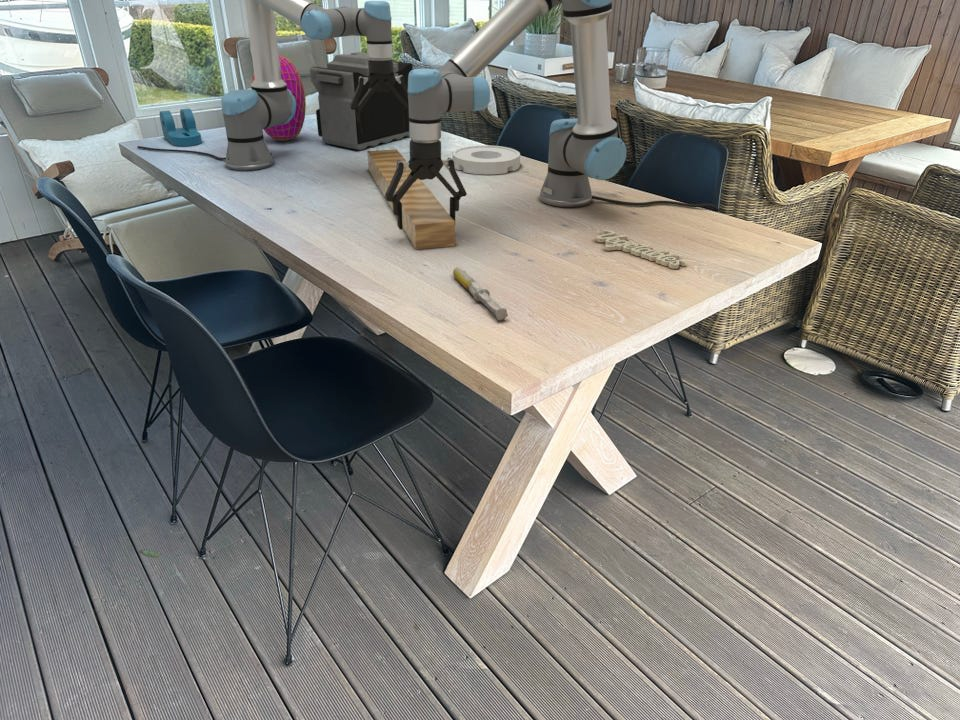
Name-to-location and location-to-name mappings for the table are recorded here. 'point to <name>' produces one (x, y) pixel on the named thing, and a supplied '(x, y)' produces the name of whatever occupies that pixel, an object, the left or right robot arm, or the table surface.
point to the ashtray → (486, 159)
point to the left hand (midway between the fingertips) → (384, 131)
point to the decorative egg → (297, 90)
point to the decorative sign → (639, 249)
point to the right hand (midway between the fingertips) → (426, 225)
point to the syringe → (479, 293)
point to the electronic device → (337, 96)
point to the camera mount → (180, 135)
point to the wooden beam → (414, 203)
